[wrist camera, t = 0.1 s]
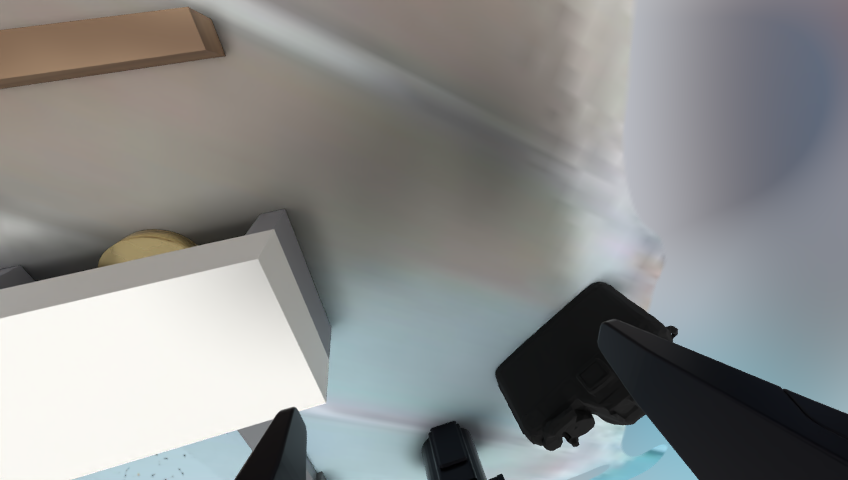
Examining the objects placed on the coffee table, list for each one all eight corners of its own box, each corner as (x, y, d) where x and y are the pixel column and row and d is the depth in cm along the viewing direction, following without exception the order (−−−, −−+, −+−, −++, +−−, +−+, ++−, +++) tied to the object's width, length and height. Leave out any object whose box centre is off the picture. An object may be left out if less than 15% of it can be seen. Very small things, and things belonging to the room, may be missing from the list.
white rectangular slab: (331, 327, 24) (326, 403, 18) (103, 389, 21) (15, 496, 16) (285, 208, 19) (257, 258, 13) (-11, 271, 17) (-195, 363, 11)
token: (226, 286, 21) (217, 300, 19) (146, 305, 20) (130, 321, 18) (189, 219, 18) (175, 230, 17) (97, 238, 18) (75, 251, 16)
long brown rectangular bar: (225, 55, 15) (205, 49, 13) (-165, 113, 13) (-264, 116, 11) (211, 19, 14) (188, 6, 12) (-204, 73, 12) (-317, 69, 10)
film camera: (534, 404, 34) (590, 497, 26) (482, 372, 30) (530, 473, 22) (642, 315, 32) (740, 388, 24) (602, 266, 27) (706, 336, 20)
